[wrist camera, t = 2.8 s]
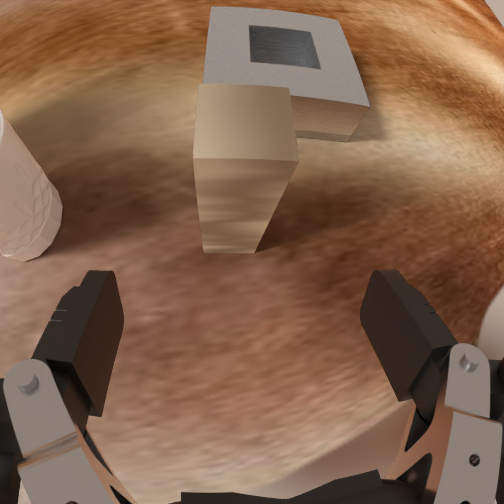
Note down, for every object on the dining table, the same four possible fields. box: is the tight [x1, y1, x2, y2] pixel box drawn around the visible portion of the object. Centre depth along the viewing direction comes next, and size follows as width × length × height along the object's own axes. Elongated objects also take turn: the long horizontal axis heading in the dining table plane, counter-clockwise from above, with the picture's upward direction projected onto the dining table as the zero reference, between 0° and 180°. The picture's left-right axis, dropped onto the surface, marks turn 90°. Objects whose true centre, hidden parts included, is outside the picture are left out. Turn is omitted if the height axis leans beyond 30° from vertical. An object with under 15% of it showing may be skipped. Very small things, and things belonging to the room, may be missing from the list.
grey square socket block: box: [203, 7, 370, 142], centre depth 23 cm, size 12×12×5 cm
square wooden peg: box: [193, 84, 299, 253], centre depth 16 cm, size 3×3×12 cm
